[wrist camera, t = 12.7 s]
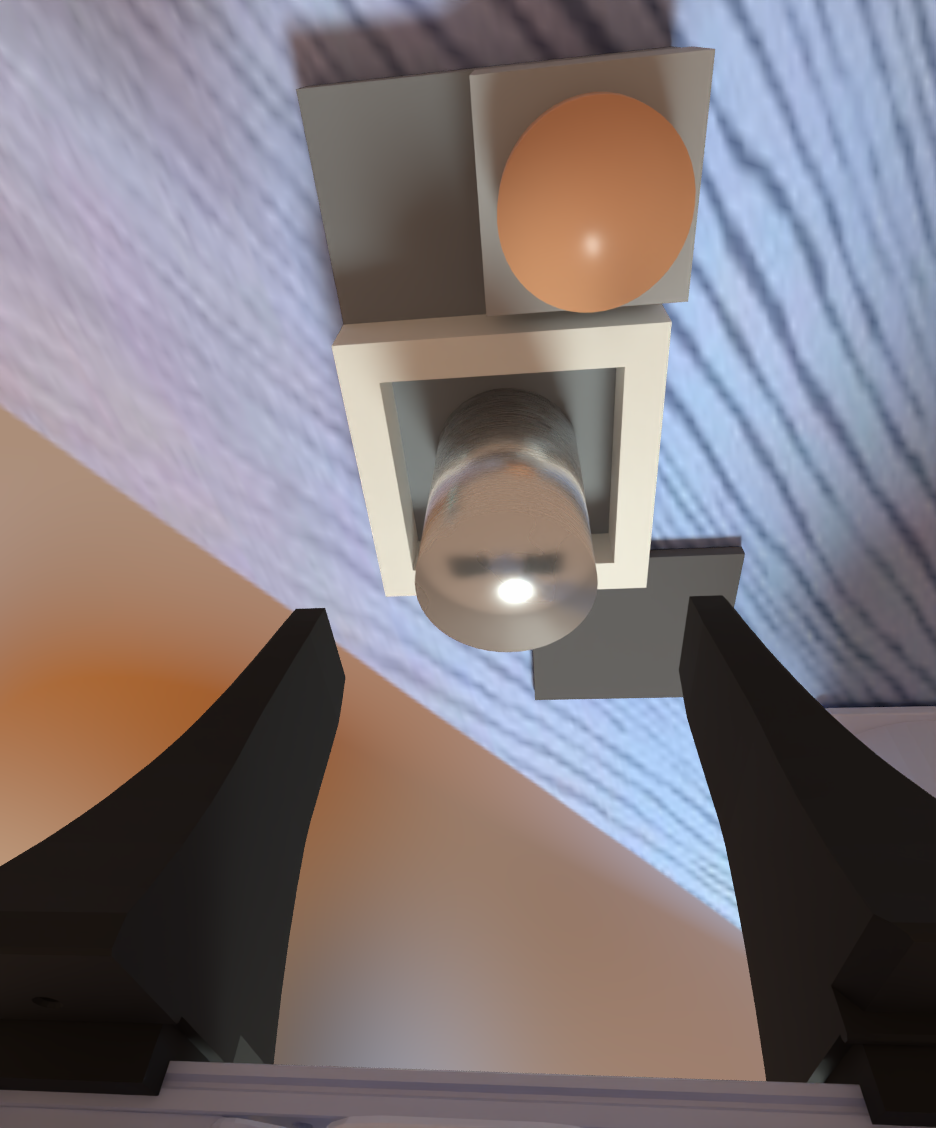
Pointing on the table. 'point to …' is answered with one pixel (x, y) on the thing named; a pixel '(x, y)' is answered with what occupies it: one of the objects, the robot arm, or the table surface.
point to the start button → (595, 202)
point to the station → (486, 288)
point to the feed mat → (636, 630)
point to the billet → (506, 526)
